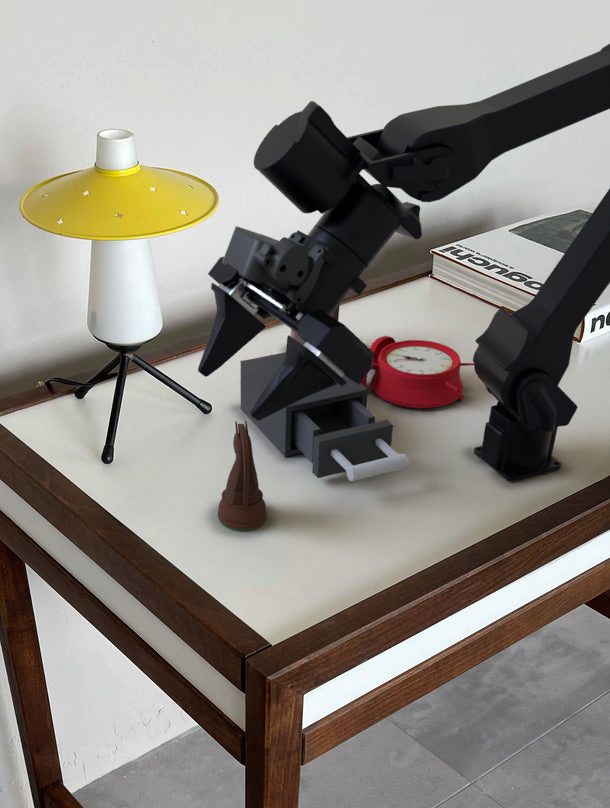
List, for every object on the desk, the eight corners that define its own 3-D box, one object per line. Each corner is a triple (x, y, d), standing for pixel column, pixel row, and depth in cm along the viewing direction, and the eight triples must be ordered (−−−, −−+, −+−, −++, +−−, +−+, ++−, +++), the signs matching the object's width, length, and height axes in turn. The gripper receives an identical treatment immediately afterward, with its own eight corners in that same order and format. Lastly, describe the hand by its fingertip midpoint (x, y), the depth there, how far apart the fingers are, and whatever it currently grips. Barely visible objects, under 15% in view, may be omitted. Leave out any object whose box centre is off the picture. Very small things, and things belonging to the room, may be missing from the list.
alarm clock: (459, 391, 108) (335, 335, 112) (440, 437, 112) (321, 382, 116) (487, 353, 116) (371, 302, 120) (469, 398, 120) (356, 347, 124)
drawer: (415, 485, 99) (419, 448, 96) (341, 504, 96) (344, 466, 94) (340, 414, 110) (342, 380, 108) (272, 430, 108) (273, 395, 105)
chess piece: (262, 501, 98) (263, 411, 92) (271, 532, 94) (273, 439, 88) (214, 505, 97) (213, 414, 92) (222, 536, 93) (221, 443, 87)
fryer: (364, 438, 108) (368, 389, 104) (284, 457, 105) (286, 407, 101) (315, 392, 116) (317, 345, 113) (240, 408, 113) (240, 360, 110)
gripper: (226, 161, 87) (117, 308, 88) (352, 225, 73) (220, 396, 75) (301, 236, 94) (199, 369, 96) (427, 305, 81) (305, 459, 83)
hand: (226, 395), depth 87 cm, fingers open, 9 cm apart
